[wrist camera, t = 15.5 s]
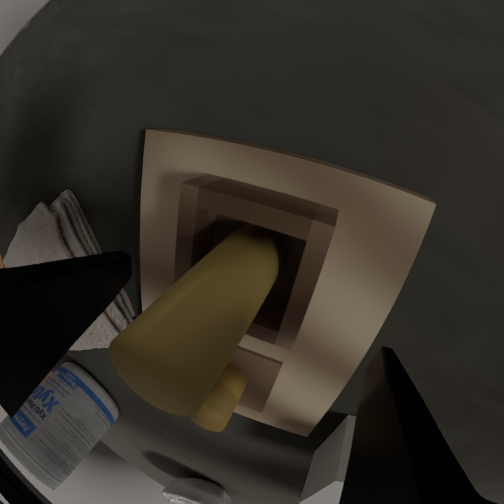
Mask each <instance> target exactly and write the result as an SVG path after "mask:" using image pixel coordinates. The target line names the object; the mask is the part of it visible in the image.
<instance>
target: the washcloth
mask: <svg viewBox="0 0 504 504" xmlns="http://www.w3.org/2000/svg"><path fill="white" fill-rule="evenodd" d="M101 253H102V251H101V249H100V247H99V245H98V243H97V241H96V238H95V236H94V234H93V232H92V230H91V228H90V226H89V224H88V222H87V220H86V218H85V215H84V213H83V211H82V209H81V207H80V205H79V203H78V201H77V199H76V198H75V196H74V194H73V193H72V192H71V190H68V189H66V190H65V191H64V192H62V193H61V195H60V196H59V197H58V198H57V199H56V200H54V201H53V203H52V204H49V207H48V206H47V205H46V204H44V203H43V202H40V203H39V204H38V205H37V206H36V208H35V209H34V210H33V212H32V213H31V214H30V215H29V216H28V217H27V218H26V219H25V220H24V221H23V222H21V223H20V224H19V225H18V230H17V232H16V234H15V237H14V239H13V240H12V242H11V243H10V246H9V248H8V251H7V254H6V256H5V257H4V260H3V263H4V265H5V267H6V268H10V267H19V266H25V265H31V264H39V263H44V262H50V261H56V260H62V259H69V258H75V257H81V256H88V255H94V254H101ZM134 315H135V313H134V310H133V309H132V305H131V303H130V300H129V298H128V296H127V294H126V292H125V291H124V289H122V290H121V291H120V292H119V294H118V295H117V296H116V297H115V299H114V300H113V301H112V303H111V304H110V305H109V306H108V307H107V309H106V310H105V311H104V312H103V313H102V314H101V315H100V316H99V317H98V318H97V319H96V320H95V321H94V322H93V324H92V325H91V326H90V327H89V328H88V329H87V330H86V331H85V332H84V333H83V334H82V336H81V337H80V338H79V339H78V340H77V341H76V342H75V343H74V344H73V346H72V347H71V348H70V349H69V350H79V351H81V350H84V349H86V350H88V349H89V350H90V349H93V348H98V349H99V348H102V347H103V348H109V345H110V342H111V341H112V340H113V339H114V338H115V337H116V336H117V335H118V334H119V333H121V332H122V331H123V330H124V329H125V328H126V327H127V326H128V325H129V324H130V323H131V322H132V321H133V320H135V319H134ZM69 350H68V351H69Z"/></svg>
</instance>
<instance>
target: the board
mask: <svg viewBox="0 0 504 504" xmlns="http://www.w3.org/2000/svg"><path fill="white" fill-rule="evenodd" d="M435 206H436V204H435V203H434V202H433V201H432V200H431V199H430V198H429V197H427V196H424V195H422V194H419V193H417V192H414V191H412V190H409V189H407V188H404V187H401V186H399V185H396V184H393V183H390V182H388V181H385V180H382V179H379V178H376V177H373V176H370V175H367V174H364V173H361V172H358V171H355V170H352V169H349V168H345V167H342V166H339V165H336V164H332V163H329V162H325V161H322V160H318V159H315V158H311V157H307V156H303V155H300V154H296V153H292V152H288V151H284V150H280V149H275V148H271V147H267V146H262V145H258V144H253V143H248V142H244V141H239V140H233V139H228V138H223V137H217V136H212V135H206V134H200V133H193V132H187V131H180V130H172V129H164V128H158V129H146V136H145V146H144V157H143V170H142V186H141V208H140V275H141V298H142V312H143V311H144V310H145V309H147V308H148V307H149V306H150V305H151V304H152V303H153V302H154V301H155V300H156V299H158V298H159V297H160V296H161V295H162V294H163V293H164V292H165V291H166V290H168V289H169V288H170V287H171V286H172V285H173V284H174V283H175V282H176V281H178V280H179V279H180V278H181V277H182V276H183V275H184V274H185V273H187V272H188V271H189V270H190V269H191V268H192V267H193V266H194V265H196V264H197V263H198V262H199V261H200V260H201V259H202V258H204V257H205V256H206V255H207V254H208V253H209V252H210V251H212V250H213V249H214V248H215V247H216V246H217V245H218V244H220V243H221V242H222V241H223V240H224V239H225V238H227V237H228V236H229V235H230V234H231V233H232V232H233V231H235V230H236V229H237V228H238V227H240V226H242V225H244V224H247V223H251V224H255V225H258V226H261V227H265V228H268V229H271V230H274V231H276V232H277V233H278V234H279V236H280V237H281V238H282V240H283V242H284V244H285V247H286V262H285V264H284V266H283V268H282V270H281V272H280V274H279V275H278V277H277V279H276V281H275V283H274V284H273V286H272V288H271V290H270V291H269V293H268V295H267V297H266V298H265V300H264V302H263V304H262V305H261V307H260V309H259V311H258V312H257V314H256V316H255V318H254V319H253V321H252V323H251V325H250V326H249V328H248V330H247V331H246V333H245V335H244V337H243V338H242V340H241V342H240V343H239V345H238V347H237V348H236V350H235V352H234V353H233V355H232V357H231V358H230V360H229V362H228V363H227V365H226V367H225V368H224V370H223V372H222V373H221V375H220V377H219V378H218V380H217V382H216V383H215V385H214V387H213V388H212V390H211V391H210V393H209V395H208V396H207V398H206V399H205V401H204V403H203V404H202V406H201V408H200V409H199V411H198V412H197V413H196V414H194V415H192V416H187V417H188V418H189V419H190V420H191V421H192V422H194V423H195V424H196V425H198V426H200V427H202V428H204V429H206V430H209V431H214V432H220V431H223V430H224V428H225V426H226V425H227V423H228V421H229V419H230V417H231V415H232V413H233V412H236V413H238V414H241V415H243V416H246V417H249V418H251V419H254V420H257V421H259V422H262V423H265V424H268V425H271V426H274V427H277V428H280V429H283V430H286V431H289V432H292V433H296V434H299V435H302V436H306V437H307V436H308V435H309V434H310V432H311V431H312V430H313V429H314V427H315V426H316V425H317V424H318V422H319V421H320V420H321V418H322V417H323V416H324V414H325V413H326V412H327V410H328V409H329V408H330V406H331V405H332V404H333V402H334V401H335V399H336V398H337V397H338V395H339V394H340V392H341V391H342V389H343V388H344V386H345V385H346V383H347V382H348V381H349V379H350V377H351V376H352V374H353V373H354V371H355V370H356V368H357V367H358V365H359V364H360V362H361V360H362V359H363V357H364V356H365V354H366V352H367V351H368V349H369V347H370V346H371V344H372V342H373V340H374V339H375V337H376V335H377V334H378V332H379V330H380V328H381V326H382V325H383V323H384V321H385V319H386V317H387V315H388V314H389V312H390V310H391V308H392V306H393V304H394V302H395V300H396V298H397V296H398V294H399V292H400V290H401V288H402V286H403V284H404V282H405V280H406V277H407V275H408V273H409V271H410V269H411V267H412V264H413V262H414V260H415V257H416V255H417V253H418V250H419V248H420V246H421V243H422V241H423V238H424V236H425V233H426V231H427V228H428V225H429V223H430V220H431V217H432V215H433V212H434V209H435Z"/></svg>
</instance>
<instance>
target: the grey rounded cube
mask: <svg viewBox="0 0 504 504" xmlns="http://www.w3.org/2000/svg"><path fill="white" fill-rule="evenodd" d="M355 420H356V417H355V416H351V415H348V416H347V417H346V418H345V419H344V420H343V421H342V423H341V424H340V425H339V426H338V427H337V428H336V429H335V430H334V431H333V433H332V434H331V435H330V436H329V437H328V438H327V439H326V440H325V441H324V442H323V443H322V444H321V445H320V446H319V447H318V448H317V450H316V451H315V452H314V455H313V459H312V462H311V466H310V469H309V473H308V476H307V479H306V482H305V486H304V489H303V492H302V495H301V498H300V501H299V503H301V504H339V501H340V497H341V493H342V489H343V484H344V480H345V475H346V471H347V466H348V461H349V456H350V451H351V445H352V439H353V433H354V427H355Z"/></svg>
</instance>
